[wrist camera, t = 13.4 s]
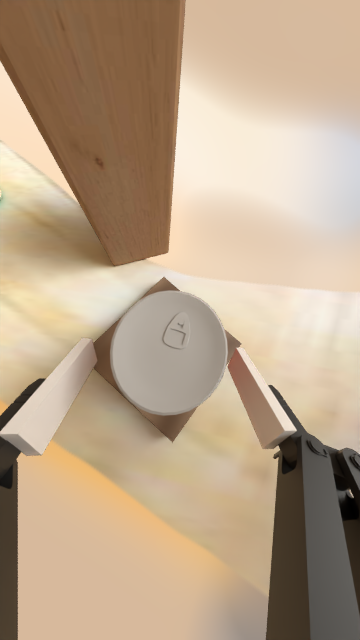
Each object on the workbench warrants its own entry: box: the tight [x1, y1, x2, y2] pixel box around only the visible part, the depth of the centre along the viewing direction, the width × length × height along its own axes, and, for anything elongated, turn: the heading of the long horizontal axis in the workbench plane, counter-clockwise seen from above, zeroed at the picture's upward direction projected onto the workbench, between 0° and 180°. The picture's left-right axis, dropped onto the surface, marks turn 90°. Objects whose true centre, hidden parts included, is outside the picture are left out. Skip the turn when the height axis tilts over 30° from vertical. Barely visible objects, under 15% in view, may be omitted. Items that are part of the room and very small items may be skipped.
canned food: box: [110, 290, 228, 416], centre depth 14 cm, size 8×8×11 cm
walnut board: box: [93, 277, 241, 442], centre depth 20 cm, size 16×16×2 cm
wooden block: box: [0, 0, 186, 266], centre depth 15 cm, size 10×10×20 cm
